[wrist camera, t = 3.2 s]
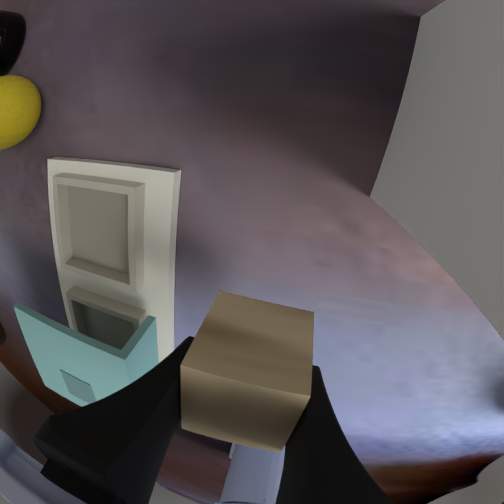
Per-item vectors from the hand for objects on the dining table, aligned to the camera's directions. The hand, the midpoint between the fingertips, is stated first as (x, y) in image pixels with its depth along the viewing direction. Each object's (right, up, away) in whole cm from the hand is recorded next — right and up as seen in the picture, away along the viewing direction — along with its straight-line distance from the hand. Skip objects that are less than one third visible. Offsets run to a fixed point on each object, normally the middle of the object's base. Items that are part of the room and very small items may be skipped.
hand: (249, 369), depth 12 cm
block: (0, +1, +2) cm, 2 cm away
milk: (+14, +11, +2) cm, 18 cm away
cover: (-12, -3, +10) cm, 16 cm away
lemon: (-17, +16, +6) cm, 24 cm away
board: (-11, +2, +10) cm, 15 cm away
